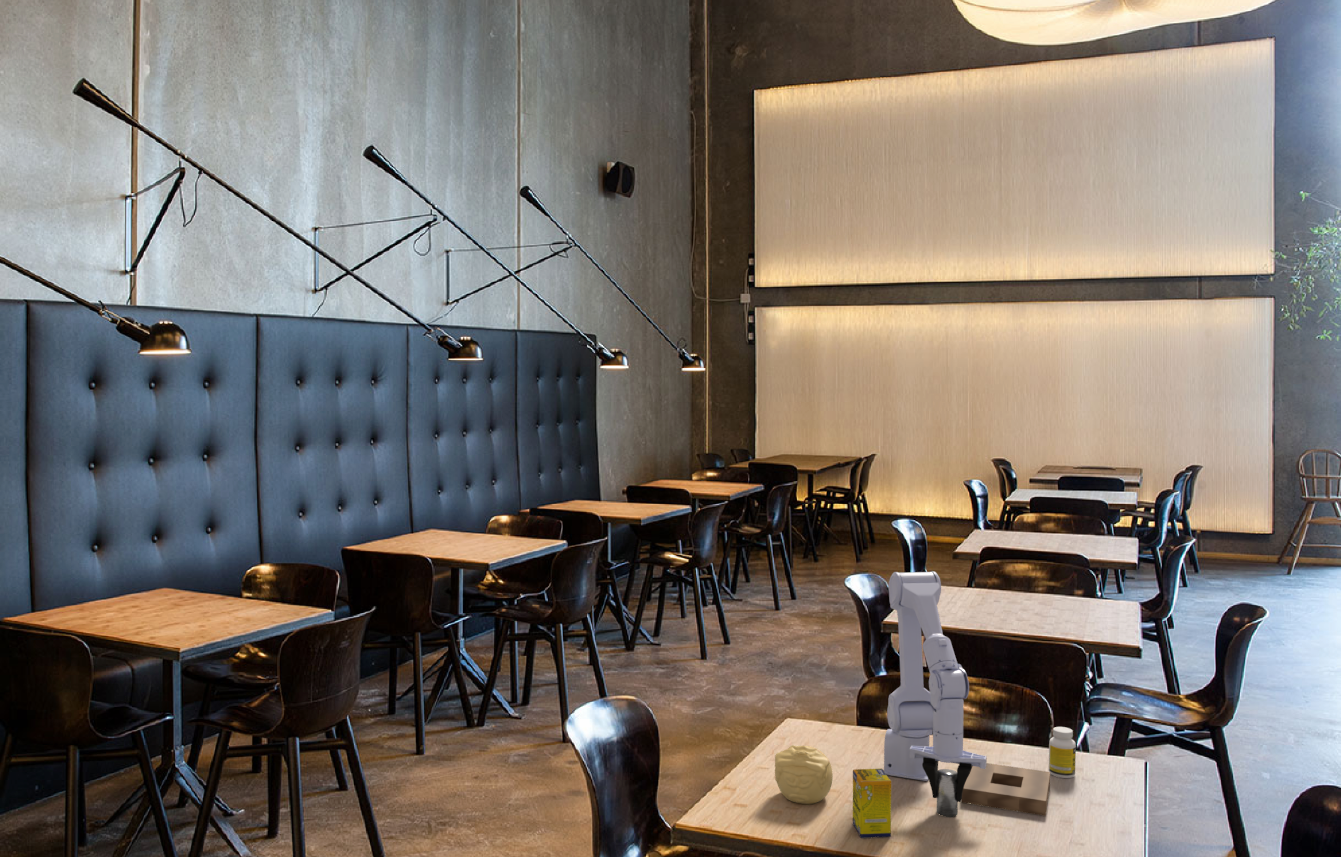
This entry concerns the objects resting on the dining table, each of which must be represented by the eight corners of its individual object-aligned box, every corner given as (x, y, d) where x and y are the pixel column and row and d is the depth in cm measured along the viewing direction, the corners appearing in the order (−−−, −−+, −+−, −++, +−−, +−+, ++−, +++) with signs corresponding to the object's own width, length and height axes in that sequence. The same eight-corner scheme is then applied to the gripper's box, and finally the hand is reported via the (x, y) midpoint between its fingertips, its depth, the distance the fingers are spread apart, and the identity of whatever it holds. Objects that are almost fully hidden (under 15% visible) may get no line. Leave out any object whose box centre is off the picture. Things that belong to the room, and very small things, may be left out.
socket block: (961, 802, 205) (961, 788, 205) (971, 774, 220) (971, 760, 220) (1045, 816, 199) (1046, 801, 199) (1050, 786, 214) (1050, 772, 214)
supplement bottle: (1077, 779, 217) (1078, 734, 217) (1050, 778, 218) (1051, 733, 218) (1072, 770, 222) (1073, 726, 222) (1046, 768, 224) (1047, 724, 223)
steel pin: (935, 815, 200) (935, 775, 199) (938, 807, 203) (938, 767, 203) (956, 818, 198) (956, 778, 198) (958, 810, 202) (959, 770, 201)
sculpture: (769, 805, 204) (769, 752, 204) (783, 783, 216) (783, 733, 215) (825, 813, 201) (826, 759, 200) (837, 790, 212) (837, 739, 211)
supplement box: (851, 824, 195) (852, 768, 195) (882, 823, 196) (882, 767, 195) (860, 838, 189) (860, 781, 189) (891, 837, 190) (891, 779, 189)
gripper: (907, 731, 199) (906, 799, 200) (984, 742, 193) (983, 812, 194) (913, 720, 206) (912, 786, 206) (988, 730, 200) (987, 798, 201)
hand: (947, 798), depth 201 cm, fingers closed on steel pin, 4 cm apart
